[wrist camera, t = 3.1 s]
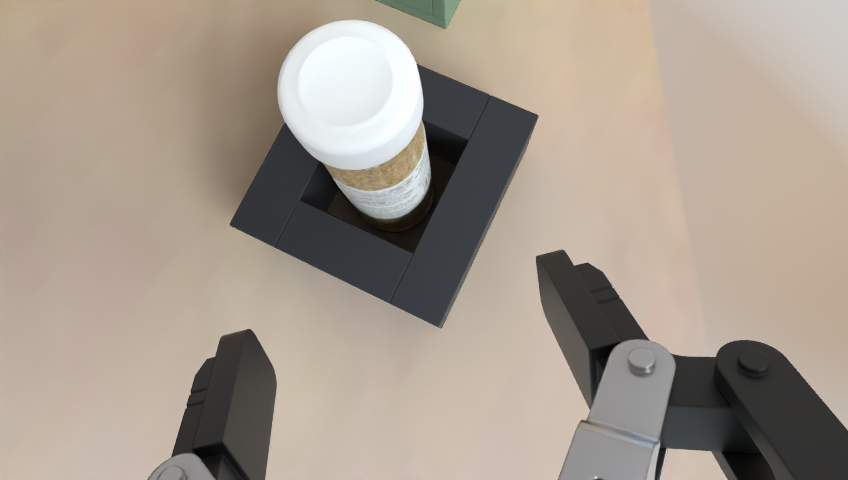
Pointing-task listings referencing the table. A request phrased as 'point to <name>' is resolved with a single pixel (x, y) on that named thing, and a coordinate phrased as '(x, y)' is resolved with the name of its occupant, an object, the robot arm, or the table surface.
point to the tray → (427, 9)
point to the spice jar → (361, 118)
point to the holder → (448, 226)
